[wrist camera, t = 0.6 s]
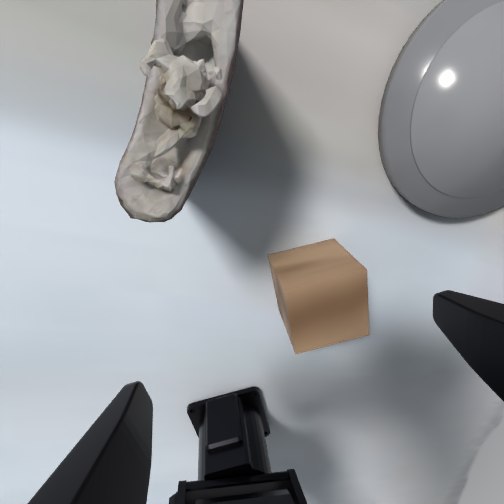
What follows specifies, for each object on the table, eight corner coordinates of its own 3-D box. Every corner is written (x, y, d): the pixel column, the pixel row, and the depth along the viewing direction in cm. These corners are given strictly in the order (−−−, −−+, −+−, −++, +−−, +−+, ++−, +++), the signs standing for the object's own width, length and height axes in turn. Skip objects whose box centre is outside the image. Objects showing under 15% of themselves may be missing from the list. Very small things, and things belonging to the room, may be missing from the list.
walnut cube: (338, 294, 24) (369, 334, 19) (278, 309, 24) (295, 354, 19) (333, 238, 22) (366, 269, 17) (267, 254, 22) (283, 290, 17)
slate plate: (554, 189, 23) (571, 193, 22) (379, 233, 22) (388, 239, 21) (613, -53, 17) (640, -65, 16) (375, -2, 16) (387, -10, 15)
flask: (188, -4, 15) (156, -229, 5) (243, 22, 16) (304, -133, 6) (150, 174, 18) (88, 239, 8) (198, 188, 19) (190, 263, 9)
